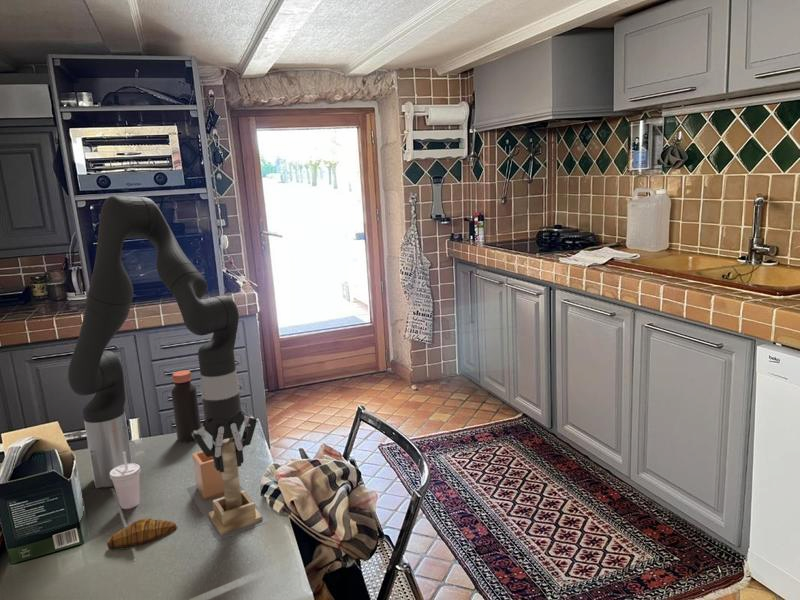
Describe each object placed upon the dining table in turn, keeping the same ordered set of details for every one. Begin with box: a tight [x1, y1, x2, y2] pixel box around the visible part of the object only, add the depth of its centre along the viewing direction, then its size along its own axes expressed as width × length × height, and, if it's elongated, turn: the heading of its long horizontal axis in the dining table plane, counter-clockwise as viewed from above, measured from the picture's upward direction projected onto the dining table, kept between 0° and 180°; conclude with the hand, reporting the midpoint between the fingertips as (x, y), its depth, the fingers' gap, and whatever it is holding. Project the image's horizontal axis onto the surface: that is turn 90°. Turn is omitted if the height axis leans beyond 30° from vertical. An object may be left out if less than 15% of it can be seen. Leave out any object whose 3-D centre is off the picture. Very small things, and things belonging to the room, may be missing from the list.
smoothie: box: [110, 452, 141, 510], centre depth 133 cm, size 6×6×14 cm
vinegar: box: [170, 370, 202, 443], centre depth 169 cm, size 7×7×20 cm
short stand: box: [208, 489, 262, 535], centre depth 126 cm, size 9×9×4 cm
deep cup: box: [191, 450, 224, 500], centre depth 137 cm, size 7×7×9 cm
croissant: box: [106, 517, 178, 550], centre depth 121 cm, size 14×7×5 cm, turn 113°
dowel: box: [221, 438, 242, 511], centre depth 124 cm, size 3×3×16 cm
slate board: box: [186, 484, 270, 542], centre depth 132 cm, size 11×26×1 cm, turn 33°
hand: (229, 467), depth 124 cm, fingers closed on dowel, 3 cm apart
